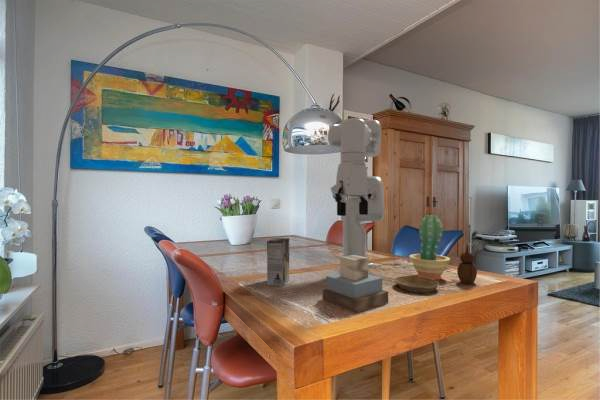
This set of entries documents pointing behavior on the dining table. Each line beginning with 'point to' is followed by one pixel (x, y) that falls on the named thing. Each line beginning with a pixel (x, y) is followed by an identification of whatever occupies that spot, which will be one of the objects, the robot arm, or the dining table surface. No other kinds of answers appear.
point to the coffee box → (277, 261)
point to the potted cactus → (430, 250)
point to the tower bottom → (356, 300)
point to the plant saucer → (416, 284)
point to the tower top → (354, 285)
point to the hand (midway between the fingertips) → (352, 215)
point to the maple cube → (354, 267)
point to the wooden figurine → (467, 268)
